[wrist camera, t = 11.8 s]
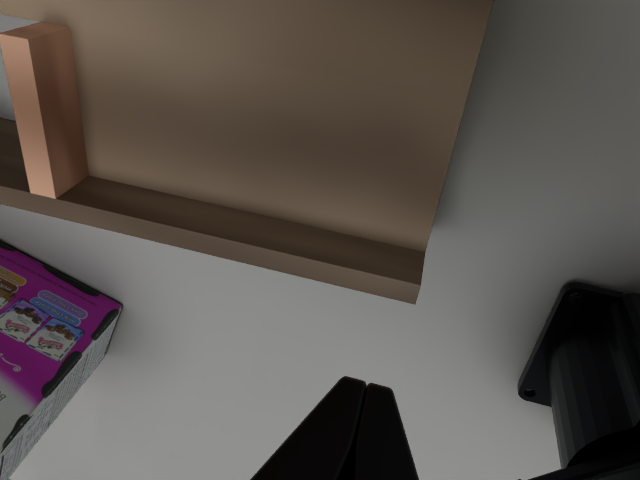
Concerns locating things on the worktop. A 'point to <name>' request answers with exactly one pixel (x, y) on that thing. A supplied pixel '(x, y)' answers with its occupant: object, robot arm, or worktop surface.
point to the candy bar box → (44, 348)
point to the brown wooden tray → (244, 126)
